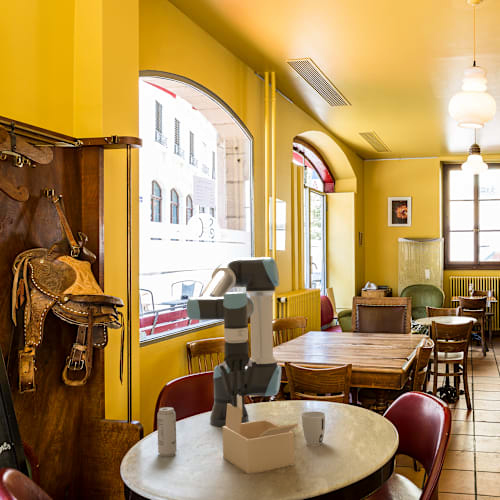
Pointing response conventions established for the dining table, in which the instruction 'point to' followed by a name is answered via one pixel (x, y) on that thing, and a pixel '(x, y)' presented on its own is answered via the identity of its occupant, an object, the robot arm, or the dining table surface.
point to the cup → (313, 427)
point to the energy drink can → (166, 431)
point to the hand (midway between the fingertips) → (238, 416)
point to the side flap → (234, 418)
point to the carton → (258, 447)
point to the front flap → (278, 430)
